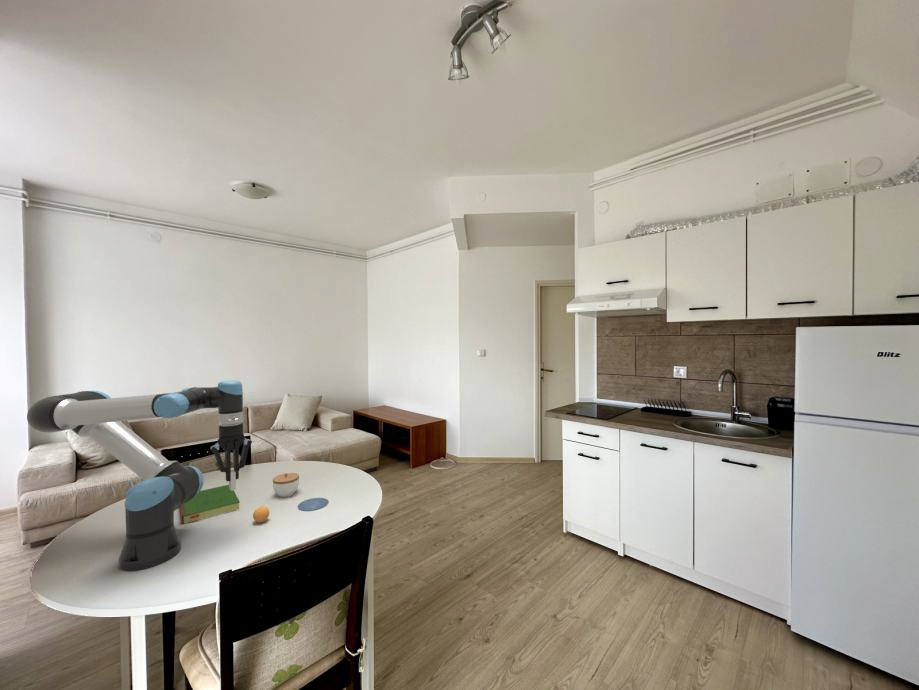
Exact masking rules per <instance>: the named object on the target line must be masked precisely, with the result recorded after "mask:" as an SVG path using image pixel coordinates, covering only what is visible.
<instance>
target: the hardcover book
mask: <svg viewBox="0 0 919 690" xmlns="http://www.w3.org/2000/svg"><path fill="white" fill-rule="evenodd" d="M237 509H239V510H240V500H239V498H238V496H237V494H236V492H235V490H232V491H231V490H230V489H229V484H226V485H225V484H224V485H221V486H217V487H211V488H207V489H201V491H200V492H199V493H198V494H197V495H196V496H195V497H194V498H193V499H192V500H190V501H188V502H186V503H185V504H183V505H182V506H180V507H179V511H180V519H181V525H182V524H183V525H185V524H189V523H193V522H196V521H195V520H197V521H199V520H198V519H201V520H203V519H202V518H205V519H207V518H206V517H208V518H211V517H210V516H212V517H215V516H214V515H216V516H219V515H218V514H220V515H222V514H221V513H224V514H226V513H225V512H228V513H230V512H229V511H231V512H234V511H233V510H235V511H238V510H237ZM192 521H193V522H192ZM188 522H189V523H188Z"/></svg>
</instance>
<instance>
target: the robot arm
mask: <svg viewBox="0 0 919 690" xmlns="http://www.w3.org/2000/svg"><path fill="white" fill-rule="evenodd" d="M243 396H244V392H243V384H242V382H241V381H240V380H224V381H223V380H222V381H219V382H218V384H217V386H212V387H210V386H207V387H201V386H199V387H197V386H193V387H186V388H183V389H182V390H181V391H177V392H176V391H175V392H168V393H158V394H157V393H156V394H146V395H135V396H121V397H113V398H112V397H111V396H109V395H108V394H107V393H105V392H103V391H98V390H82V391H77V392H74V393H65V394H59V395H58V394H57V395H52V396H47V397H44V398H42V399H40V400H38V401H36V402H35V403H34V404H32V406H30V407H29V409H28V411H27V413H26V421H27V423H28V425H29V426H30V427H31V428H33V429H34V430H36V431H38V432H41V433H48V434H49V433H58V432H59V433H60V432H62V431H68V430H69V431H70V430H71V431H73V432H74V433H75V434H76V435H78V436H79V437H81V438H85V437H89V438H90V439H92V441H94V442H96V443H97V444H98V445H99V446H100V447H102V448H103V449H104V450H105V451H107V452H108V453H109V454H111V456H113V457H114V458H116V460H118V461H120V463H121V464H123V465H124V466H125V467H127V468H128V469H129V470H131V472H133V474H136V475H137V476H138V477H139V478H140V479H142V481H140V482H137V483H136V484H134V485H132V486H131V487H130V488H128V490H127V491H126V494H125V501H124V508H125V541H124V544H123V546H122V549H121V551H120V554H119V558H118V568H119V569H120V570H123V571H127V572H128V571H129V572H130V571H131V572H132V571H139V570H140V571H141V570H144V569H148V568H152V567H155V566H158V565H160V564H163V563H164V562H167V561H168V560H170V559H171V558H174V557H175V556H176V555H177V554H178V553H180V551H181V548H182V541H181V538H180V535H179V534H178V532H177V530H176V528H175V521H174V520H175V518H174V515H175V513H174V512H175V511H176V510H178V509H180V506H182V505H183V504H185V503H186V502H188V501H190V500H192V499H193V498H194V497H195V496H196V495H197V494H198V493H199V492H200V491H202V490H203V486H204V475H203V473H202V472H201V470H200V469H199V468H198V467H196V466H193V465H183V464H182V463H181V462H180V461H178V460H168V459H167V458H166V457H165V456H164V455H162V453H160V452H159V451H158V450H156V449H155V448H154V447H153V446H151V445H150V444H149V443H148V442H146V441H145V440H144V439H143V438H141V437H140V436H139V435H138V434H136V433H135V432H134V431H133V430H132V429H130V428H129V427H128V426H127V425H126V424H124V423H123V422H126V421H135V420H136V421H138V420H146V419H155V418H156V419H157V418H162V419H174V418H178V417H180V416H183V415H186V414H190V413H193V412H196V411H198V410H204V409H217V410H218V425H219V426H218V439H217V442H216V443H215V444H214V445H211V446H210V447H209V448H210V450H211V451H212V452H213V454H214V458H215V461H216V465H217V467H218V470H219V471H220V472H221V473H225V481H226V482H227V483H228V485H229V489H230V490H231V491H232V490H234V491H236V490H237V484H236V483H237V480H239V478H240V474H239V473H240V470H241V469H243V468H245V465H246V461H247V457H248V452H249V449H250V446H251V444H253V443H252V442H253V441H252V440H251V439H250V438H246V436H245V434H244V423H243V422H244V404H243V403H244V402H243V401H244V397H243ZM242 444H243V447H242V451H241V454H240V455H239V452H240V447H241V446H242ZM220 447H221V448H222V449H223V450H224V463H223V459H222V456H221V454H220V451H219V450H220ZM231 454H232V461H231ZM231 463H233V464H231ZM232 465H233V467H232ZM231 467H232V468H233V469H232V468H231Z"/></svg>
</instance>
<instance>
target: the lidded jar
mask: <svg viewBox="0 0 919 690" xmlns="http://www.w3.org/2000/svg"><path fill="white" fill-rule="evenodd" d="M299 484H300V474H298V473H296V472H285V473H282V474H278V475H276V476H274V477H273V478H272V487H273V491H274V493H275V494H276V495H277V496H278V497H279V496H280V498H287V496H288V497H291V496H293V495H294V494H295V492H296V491H297V490H298V488H299Z"/></svg>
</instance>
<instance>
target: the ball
mask: <svg viewBox="0 0 919 690" xmlns="http://www.w3.org/2000/svg"><path fill="white" fill-rule="evenodd" d="M269 516H270V510H269V508H268V507H267V506H264V505H262V506H259V507H257V508H256V509H255V510H254V511H253V513H252V518H253V520H254V521H255V522H257V523H263V522H265V521H267V520H268V518H269Z"/></svg>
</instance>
